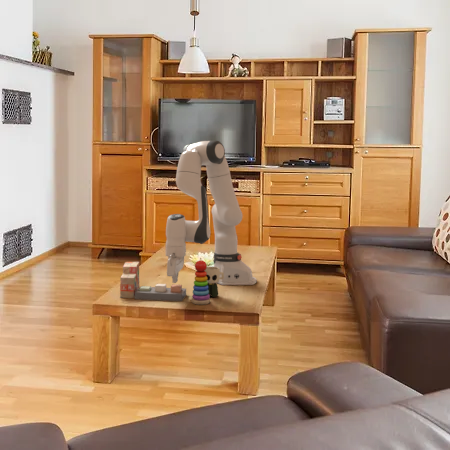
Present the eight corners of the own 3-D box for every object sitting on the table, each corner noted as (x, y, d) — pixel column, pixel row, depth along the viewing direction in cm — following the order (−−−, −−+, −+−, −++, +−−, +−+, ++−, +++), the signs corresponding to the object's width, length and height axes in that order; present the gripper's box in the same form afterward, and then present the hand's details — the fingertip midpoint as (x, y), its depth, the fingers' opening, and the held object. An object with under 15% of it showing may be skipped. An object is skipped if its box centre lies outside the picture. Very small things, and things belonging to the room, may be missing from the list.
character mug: (198, 298, 300) (198, 269, 298) (199, 294, 307) (200, 266, 305) (223, 298, 299) (223, 270, 298) (223, 294, 307) (224, 266, 305)
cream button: (166, 290, 302) (166, 284, 302) (164, 292, 298) (164, 286, 297) (157, 290, 302) (157, 283, 302) (155, 292, 298) (155, 285, 298)
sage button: (150, 292, 303) (150, 286, 303) (148, 295, 299) (148, 288, 298) (141, 292, 303) (141, 286, 303) (139, 294, 299) (139, 288, 299)
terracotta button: (181, 291, 301) (181, 284, 301) (180, 293, 297) (180, 286, 297) (172, 290, 302) (172, 284, 301) (170, 293, 298) (170, 286, 297)
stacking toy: (191, 300, 295) (191, 258, 293) (209, 300, 296) (210, 258, 293) (191, 305, 287) (192, 262, 285) (210, 305, 288) (211, 262, 285)
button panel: (186, 295, 305) (186, 288, 304) (181, 301, 294) (182, 294, 294) (140, 293, 307) (140, 286, 307) (134, 299, 296) (134, 292, 296)
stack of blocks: (134, 298, 298) (134, 270, 296) (120, 298, 298) (119, 270, 296) (139, 287, 319) (139, 261, 318) (126, 286, 319) (126, 261, 317)
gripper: (178, 256, 286) (177, 288, 288) (186, 248, 307) (186, 277, 308) (163, 255, 287) (163, 287, 289) (173, 247, 307) (172, 277, 309)
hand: (175, 282), depth 299 cm, fingers closed
